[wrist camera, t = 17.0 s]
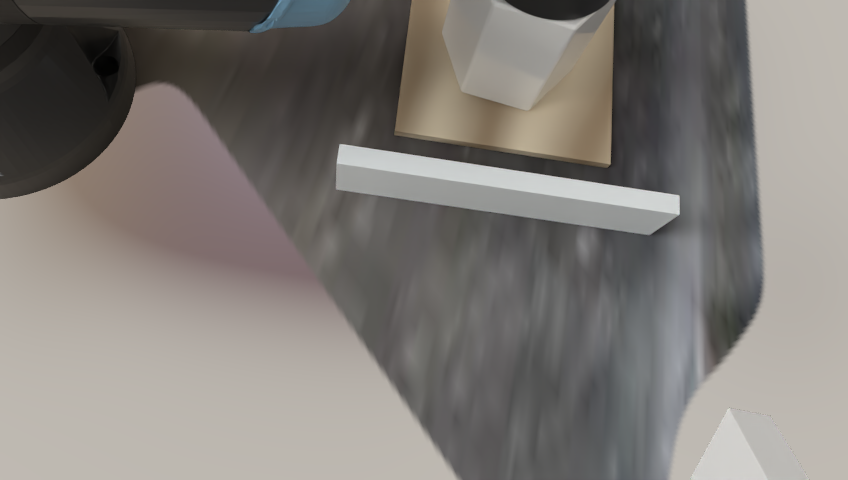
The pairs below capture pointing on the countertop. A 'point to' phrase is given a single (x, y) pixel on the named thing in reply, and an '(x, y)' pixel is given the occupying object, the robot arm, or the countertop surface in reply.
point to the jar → (518, 45)
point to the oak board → (498, 123)
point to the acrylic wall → (502, 190)
